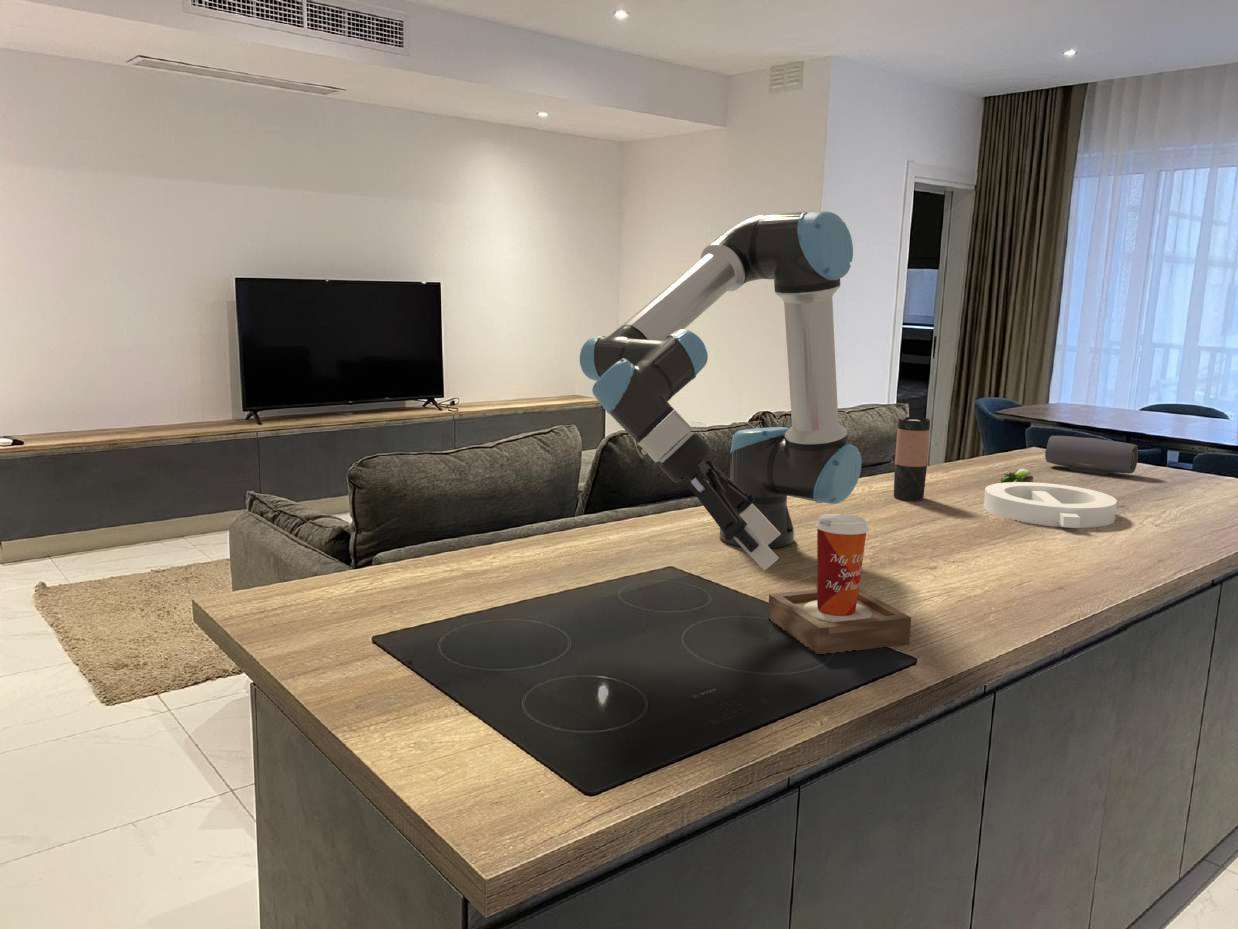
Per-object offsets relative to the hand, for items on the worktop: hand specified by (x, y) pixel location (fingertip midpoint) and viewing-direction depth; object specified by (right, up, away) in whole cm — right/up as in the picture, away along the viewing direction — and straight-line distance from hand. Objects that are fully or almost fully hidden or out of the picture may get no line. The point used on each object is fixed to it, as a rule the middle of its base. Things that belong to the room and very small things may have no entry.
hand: (773, 551), depth 135 cm
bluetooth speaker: (+115, +11, +129) cm, 173 cm away
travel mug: (+50, +5, +91) cm, 104 cm away
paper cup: (+10, -9, 0) cm, 13 cm away
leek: (+85, +7, +110) cm, 139 cm away
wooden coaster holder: (+10, -12, 0) cm, 15 cm away
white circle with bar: (+78, +1, +78) cm, 110 cm away
